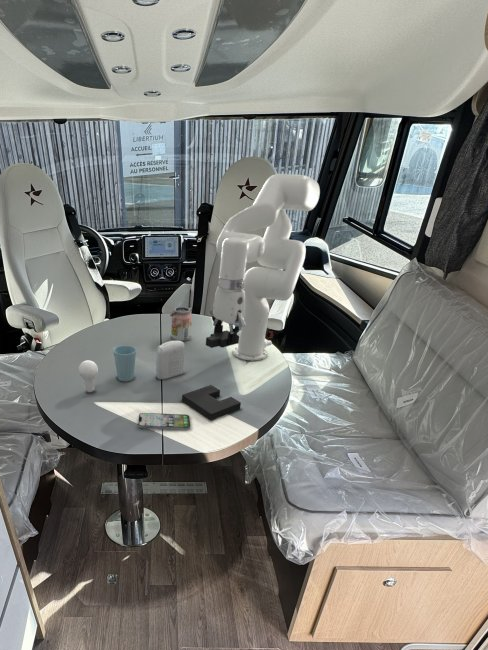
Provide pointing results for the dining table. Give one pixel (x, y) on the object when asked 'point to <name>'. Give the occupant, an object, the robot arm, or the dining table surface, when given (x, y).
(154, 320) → the dining table surface
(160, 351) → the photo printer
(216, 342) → the tab pad
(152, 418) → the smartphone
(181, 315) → the beverage can
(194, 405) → the base pad
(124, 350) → the cup
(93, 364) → the lightbulb
